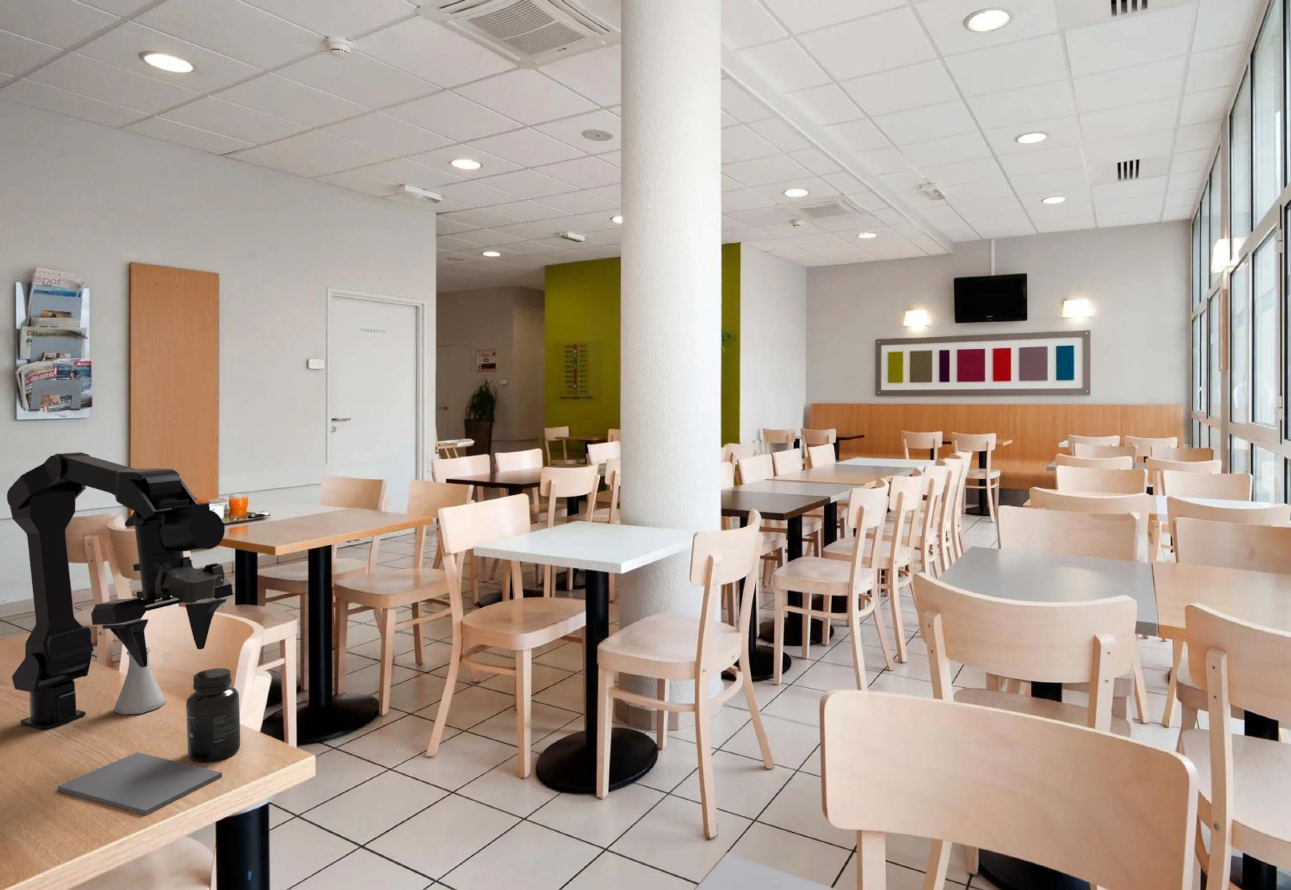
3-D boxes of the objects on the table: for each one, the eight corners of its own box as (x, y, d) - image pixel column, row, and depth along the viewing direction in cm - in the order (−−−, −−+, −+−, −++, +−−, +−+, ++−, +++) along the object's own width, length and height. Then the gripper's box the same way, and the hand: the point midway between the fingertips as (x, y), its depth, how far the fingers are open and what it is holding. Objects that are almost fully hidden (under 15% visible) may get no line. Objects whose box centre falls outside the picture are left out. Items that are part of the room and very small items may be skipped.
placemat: (57, 790, 105) (57, 785, 105) (137, 756, 116) (137, 752, 116) (145, 815, 99) (145, 810, 99) (222, 776, 109) (221, 772, 109)
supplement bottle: (180, 754, 116) (178, 674, 116) (229, 739, 122) (227, 662, 121) (198, 768, 112) (195, 685, 111) (248, 752, 117) (246, 672, 116)
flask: (141, 717, 130) (139, 657, 129) (104, 714, 131) (102, 655, 131) (175, 701, 137) (173, 644, 137) (140, 698, 138) (138, 642, 138)
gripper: (137, 561, 106) (150, 677, 106) (252, 540, 124) (264, 639, 123) (82, 566, 110) (96, 677, 110) (202, 545, 128) (213, 641, 128)
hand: (173, 657), depth 118 cm, fingers open, 9 cm apart
